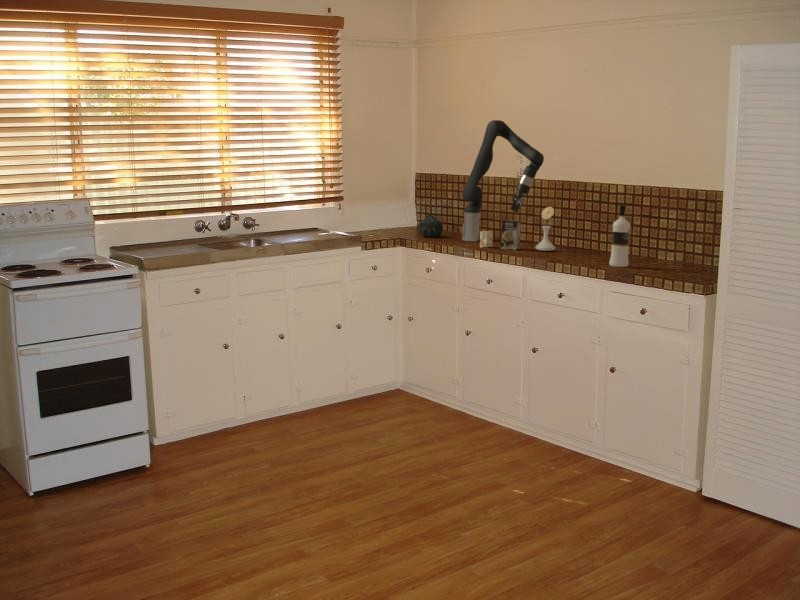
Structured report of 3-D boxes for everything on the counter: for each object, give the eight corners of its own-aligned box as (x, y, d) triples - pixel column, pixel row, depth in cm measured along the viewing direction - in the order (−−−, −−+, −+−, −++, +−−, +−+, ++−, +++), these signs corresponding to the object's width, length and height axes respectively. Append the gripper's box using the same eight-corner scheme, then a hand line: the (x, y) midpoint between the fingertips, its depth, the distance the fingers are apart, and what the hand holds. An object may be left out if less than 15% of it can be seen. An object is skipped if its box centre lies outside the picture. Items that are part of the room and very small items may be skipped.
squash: (440, 227, 566) (427, 209, 560) (450, 230, 552) (436, 212, 546) (424, 242, 564) (410, 224, 558) (433, 245, 550) (419, 227, 545)
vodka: (612, 264, 442) (617, 204, 437) (631, 266, 437) (635, 205, 432) (606, 266, 434) (610, 204, 429) (624, 268, 429) (629, 206, 424)
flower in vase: (531, 249, 499) (533, 205, 495) (548, 249, 503) (551, 205, 499) (542, 252, 487) (544, 207, 483) (560, 252, 491) (563, 207, 487)
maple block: (479, 247, 506) (480, 231, 504) (485, 246, 509) (486, 231, 507) (485, 248, 502) (486, 232, 500) (492, 247, 505) (492, 231, 504)
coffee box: (500, 249, 499) (501, 220, 496) (504, 248, 504) (505, 219, 502) (515, 250, 494) (517, 221, 492) (519, 249, 500) (521, 220, 497)
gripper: (521, 184, 513) (510, 210, 515) (516, 180, 500) (505, 206, 502) (533, 188, 511) (522, 214, 512) (528, 184, 498) (517, 211, 499)
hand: (513, 210), depth 507 cm, fingers open, 8 cm apart
